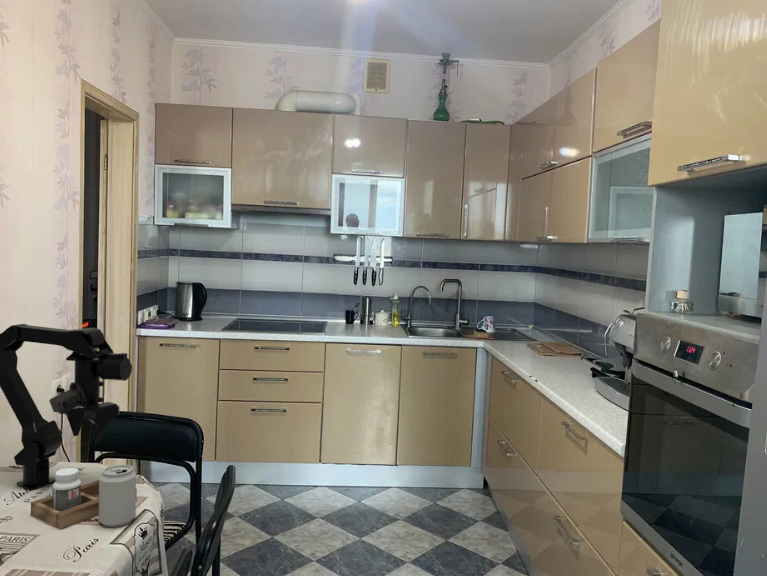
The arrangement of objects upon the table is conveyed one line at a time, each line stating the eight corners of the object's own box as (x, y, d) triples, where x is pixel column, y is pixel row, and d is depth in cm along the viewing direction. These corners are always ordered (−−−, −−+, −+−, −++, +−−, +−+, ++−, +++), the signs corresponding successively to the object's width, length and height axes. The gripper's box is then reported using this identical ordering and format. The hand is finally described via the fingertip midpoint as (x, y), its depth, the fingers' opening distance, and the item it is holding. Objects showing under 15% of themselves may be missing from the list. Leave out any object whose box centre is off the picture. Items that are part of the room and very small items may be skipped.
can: (121, 530, 125) (122, 476, 124) (90, 526, 126) (91, 472, 126) (142, 515, 132) (143, 464, 132) (113, 511, 134) (114, 461, 133)
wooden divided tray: (30, 515, 131) (30, 502, 130) (106, 489, 146) (106, 477, 146) (61, 529, 124) (61, 515, 124) (136, 500, 140) (136, 488, 140)
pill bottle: (86, 512, 133) (87, 470, 133) (63, 521, 128) (63, 478, 127) (70, 507, 136) (70, 465, 135) (46, 516, 130) (47, 473, 130)
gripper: (34, 378, 144) (33, 439, 144) (77, 389, 134) (76, 455, 135) (77, 371, 153) (77, 429, 154) (121, 381, 143) (120, 443, 144)
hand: (86, 439), depth 146 cm, fingers open, 9 cm apart
